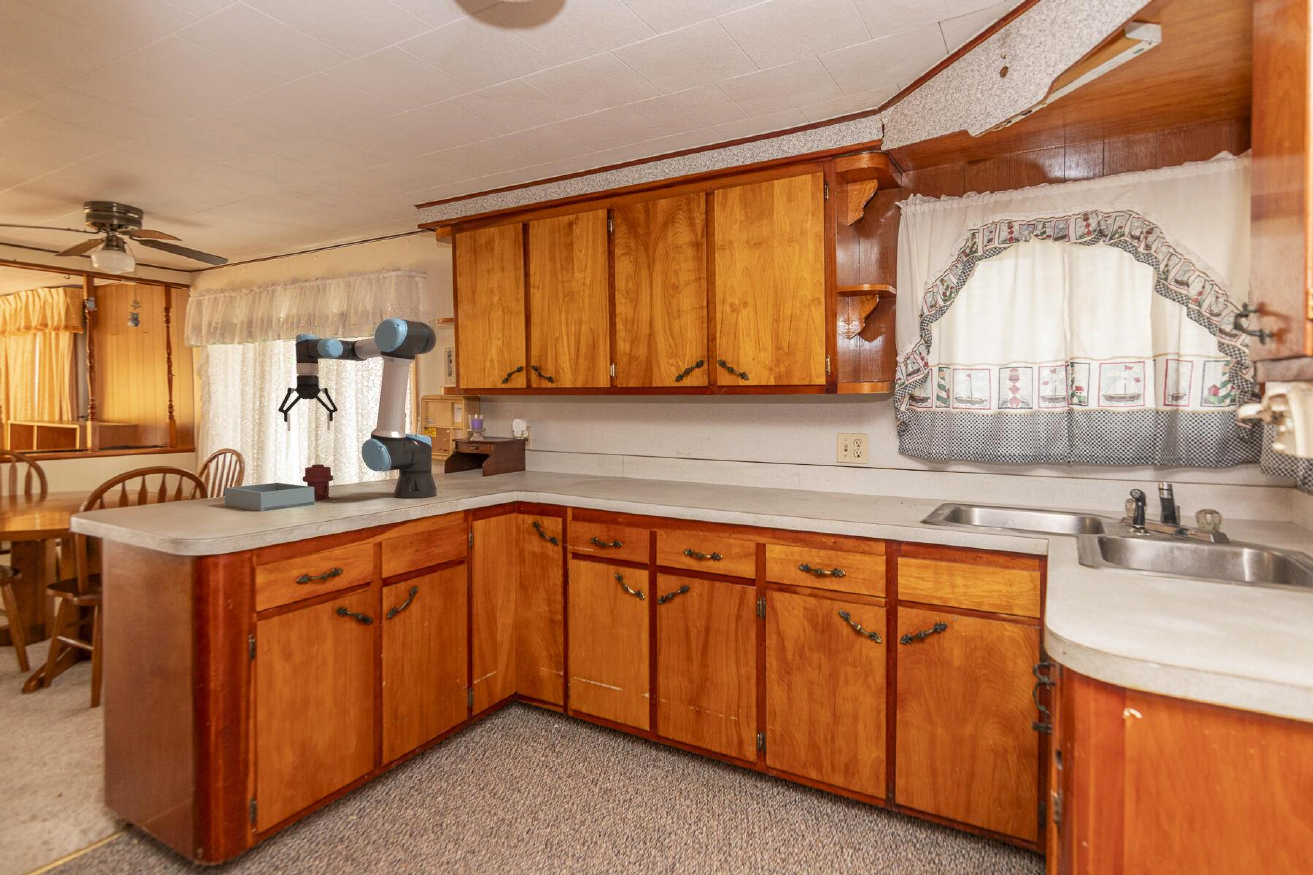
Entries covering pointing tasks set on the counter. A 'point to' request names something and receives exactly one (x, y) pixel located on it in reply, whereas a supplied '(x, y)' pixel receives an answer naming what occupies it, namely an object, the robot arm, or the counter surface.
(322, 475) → the mechanical component
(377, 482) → the counter surface
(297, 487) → the tote
